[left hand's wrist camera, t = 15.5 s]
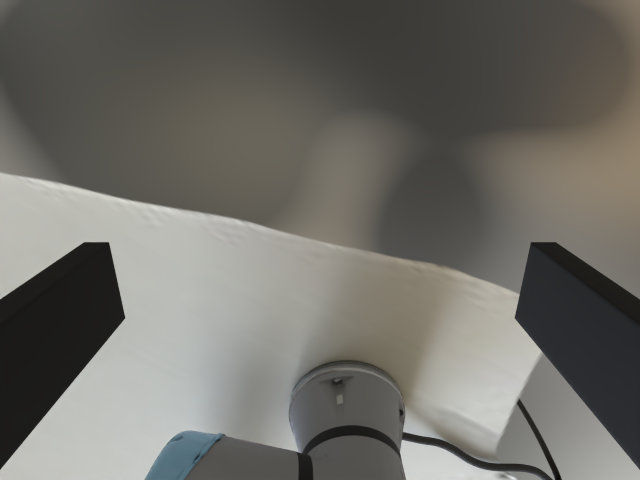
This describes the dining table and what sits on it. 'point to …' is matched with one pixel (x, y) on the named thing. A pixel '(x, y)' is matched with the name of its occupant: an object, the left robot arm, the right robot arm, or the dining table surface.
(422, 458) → the dining table surface
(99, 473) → the dining table surface
